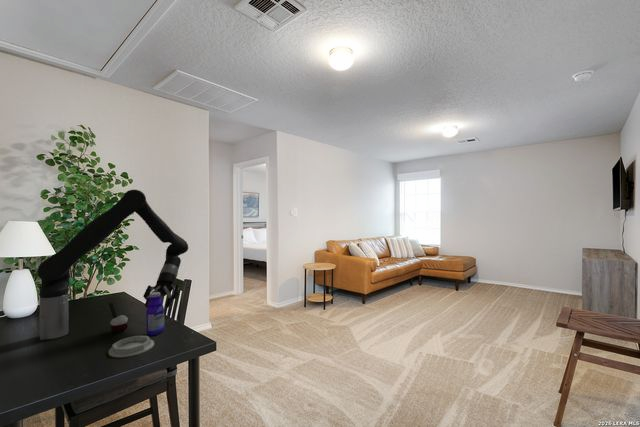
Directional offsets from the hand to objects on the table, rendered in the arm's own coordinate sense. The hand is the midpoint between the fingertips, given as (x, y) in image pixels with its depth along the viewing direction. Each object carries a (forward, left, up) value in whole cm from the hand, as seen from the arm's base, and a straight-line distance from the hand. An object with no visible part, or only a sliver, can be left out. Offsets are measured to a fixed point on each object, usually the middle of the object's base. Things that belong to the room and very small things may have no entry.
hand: (157, 307), depth 134 cm
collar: (-12, -11, -11) cm, 20 cm away
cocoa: (-12, +13, -11) cm, 21 cm away
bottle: (-1, -1, -11) cm, 11 cm away
